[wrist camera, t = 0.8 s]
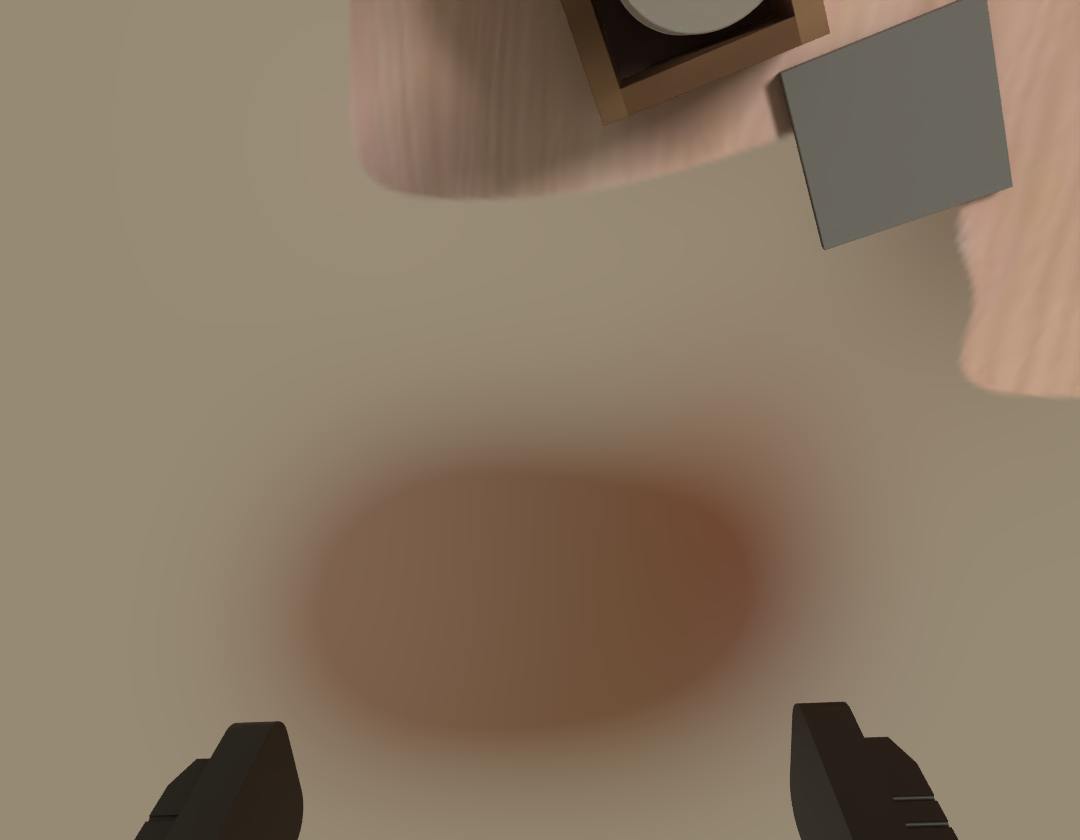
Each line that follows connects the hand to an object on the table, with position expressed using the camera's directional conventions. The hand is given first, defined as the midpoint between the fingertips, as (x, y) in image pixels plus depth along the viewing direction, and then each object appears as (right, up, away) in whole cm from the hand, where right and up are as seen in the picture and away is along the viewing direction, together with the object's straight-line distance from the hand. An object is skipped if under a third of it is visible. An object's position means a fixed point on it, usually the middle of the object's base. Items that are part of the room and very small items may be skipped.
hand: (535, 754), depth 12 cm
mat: (+15, +18, +21) cm, 32 cm away
